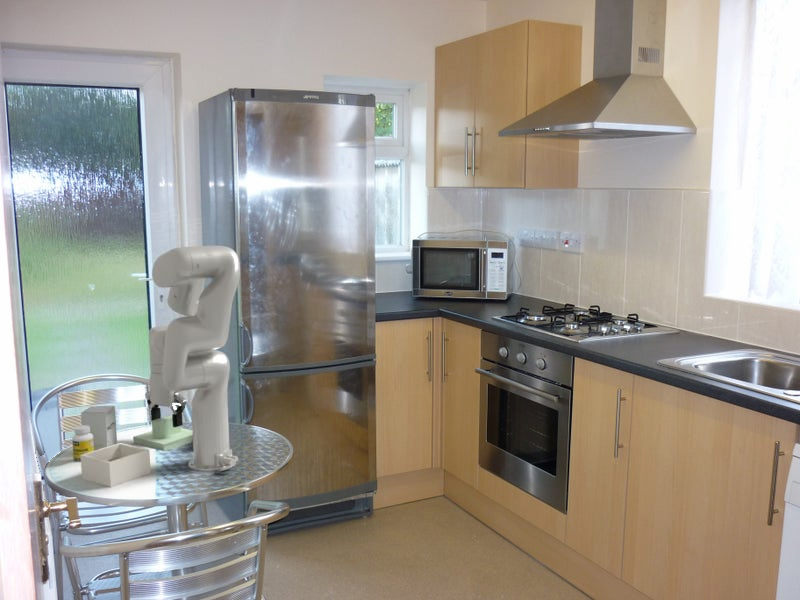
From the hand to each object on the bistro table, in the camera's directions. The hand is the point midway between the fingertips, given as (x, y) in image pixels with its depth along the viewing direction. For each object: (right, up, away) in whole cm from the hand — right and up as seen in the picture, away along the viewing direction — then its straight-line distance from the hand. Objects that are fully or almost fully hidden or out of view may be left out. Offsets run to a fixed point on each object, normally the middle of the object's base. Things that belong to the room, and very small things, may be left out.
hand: (166, 423), depth 227 cm
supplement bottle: (-18, -8, -16) cm, 25 cm away
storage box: (-4, -9, -30) cm, 32 cm away
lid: (0, -6, +1) cm, 6 cm away
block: (-4, -9, -30) cm, 32 cm away
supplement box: (-17, -7, -7) cm, 20 cm away
